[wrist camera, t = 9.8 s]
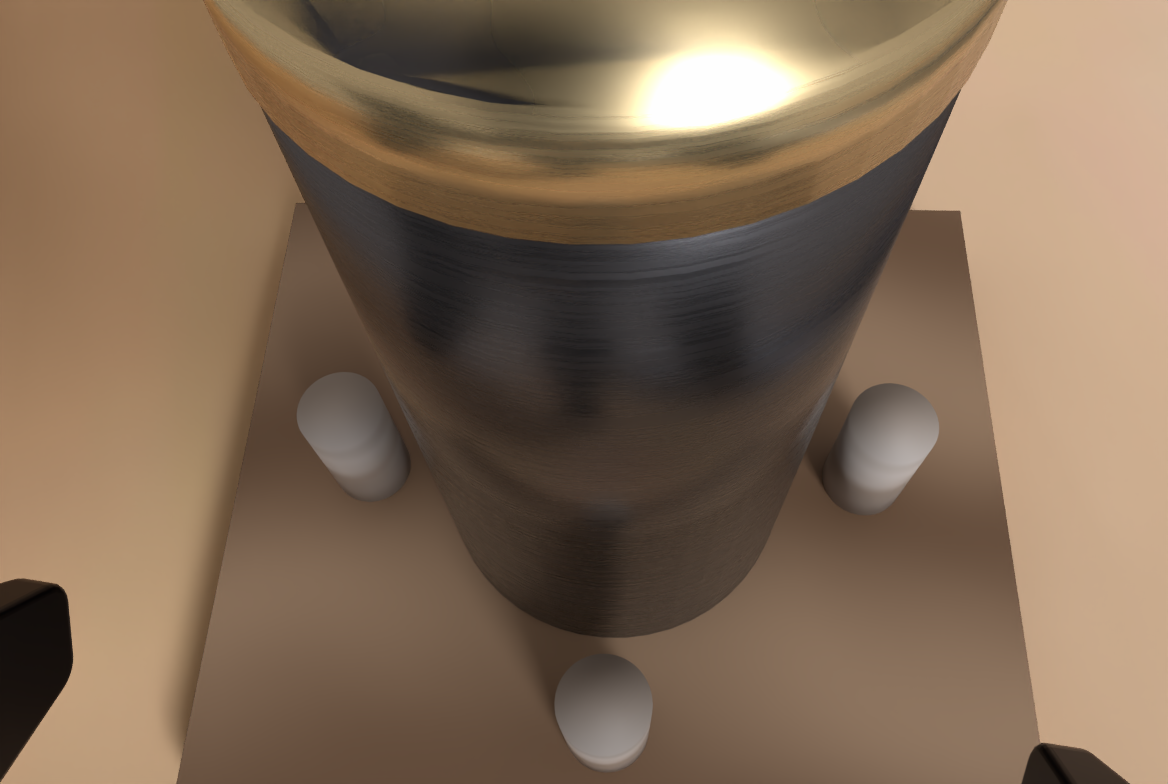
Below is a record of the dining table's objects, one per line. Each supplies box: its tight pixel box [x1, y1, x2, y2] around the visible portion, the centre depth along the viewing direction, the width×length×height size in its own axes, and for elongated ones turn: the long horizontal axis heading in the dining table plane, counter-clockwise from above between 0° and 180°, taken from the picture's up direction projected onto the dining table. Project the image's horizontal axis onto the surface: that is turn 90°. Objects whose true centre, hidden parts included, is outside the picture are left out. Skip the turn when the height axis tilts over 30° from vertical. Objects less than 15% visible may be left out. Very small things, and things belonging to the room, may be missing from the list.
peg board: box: [176, 203, 1040, 784], centre depth 18 cm, size 12×14×4 cm
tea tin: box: [203, 0, 1007, 638], centre depth 13 cm, size 6×6×13 cm
